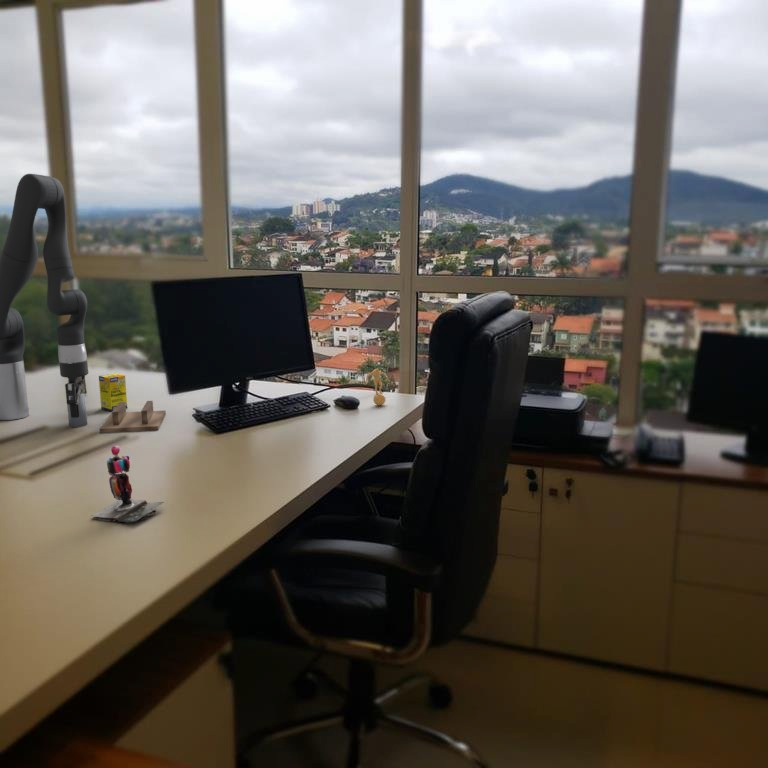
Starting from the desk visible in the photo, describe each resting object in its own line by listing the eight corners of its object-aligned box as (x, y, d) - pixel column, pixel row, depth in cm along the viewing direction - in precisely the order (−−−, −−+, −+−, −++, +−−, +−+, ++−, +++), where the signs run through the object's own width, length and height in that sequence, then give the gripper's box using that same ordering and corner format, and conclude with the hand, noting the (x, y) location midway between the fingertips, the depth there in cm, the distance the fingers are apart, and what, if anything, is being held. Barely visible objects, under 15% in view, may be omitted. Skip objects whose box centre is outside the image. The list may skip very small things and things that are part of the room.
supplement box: (111, 412, 231) (108, 378, 229) (100, 409, 235) (97, 375, 232) (128, 408, 236) (125, 374, 233) (117, 405, 239) (114, 372, 237)
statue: (92, 524, 148) (77, 453, 146) (123, 507, 157) (110, 440, 154) (135, 526, 144) (121, 453, 142) (165, 508, 153) (152, 439, 150)
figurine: (369, 407, 236) (369, 371, 233) (363, 403, 241) (362, 367, 239) (393, 405, 239) (393, 369, 236) (386, 401, 244) (386, 366, 242)
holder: (99, 432, 208) (98, 415, 207) (111, 416, 226) (110, 400, 224) (158, 430, 211) (157, 412, 210) (165, 414, 228) (164, 397, 227)
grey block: (67, 427, 214) (64, 397, 212) (71, 422, 219) (68, 393, 217) (85, 426, 215) (82, 396, 213) (89, 422, 219) (86, 392, 217)
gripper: (65, 355, 219) (70, 408, 222) (52, 364, 205) (59, 420, 209) (91, 354, 220) (96, 407, 224) (81, 363, 206) (86, 419, 210)
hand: (78, 413), depth 216 cm, fingers open, 8 cm apart
